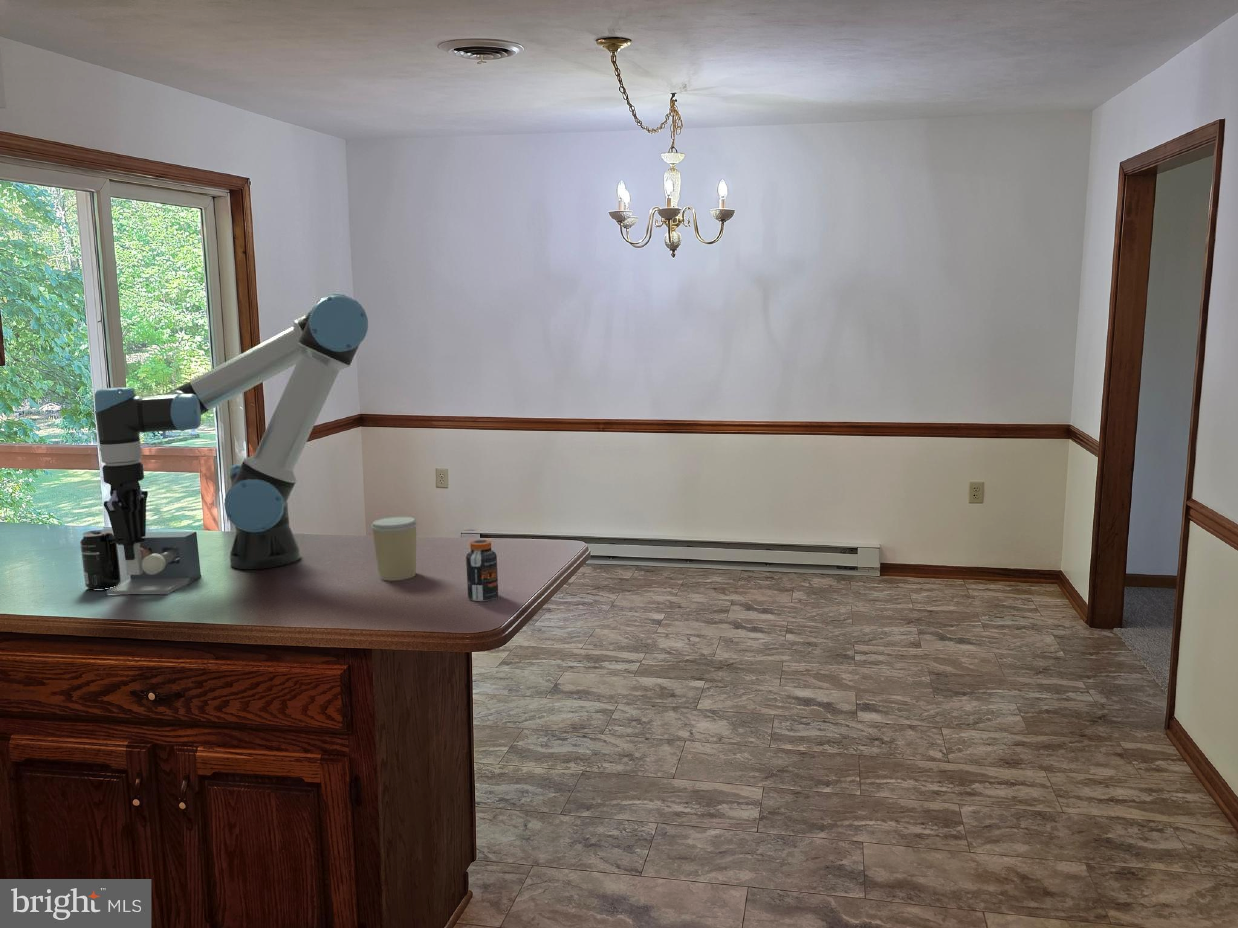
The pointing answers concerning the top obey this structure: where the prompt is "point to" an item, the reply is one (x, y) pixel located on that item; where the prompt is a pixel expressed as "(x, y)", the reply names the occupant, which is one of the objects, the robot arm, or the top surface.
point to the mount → (173, 572)
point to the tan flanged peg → (145, 552)
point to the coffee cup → (395, 547)
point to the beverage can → (100, 559)
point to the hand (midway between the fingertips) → (135, 573)
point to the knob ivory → (159, 561)
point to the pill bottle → (482, 571)
